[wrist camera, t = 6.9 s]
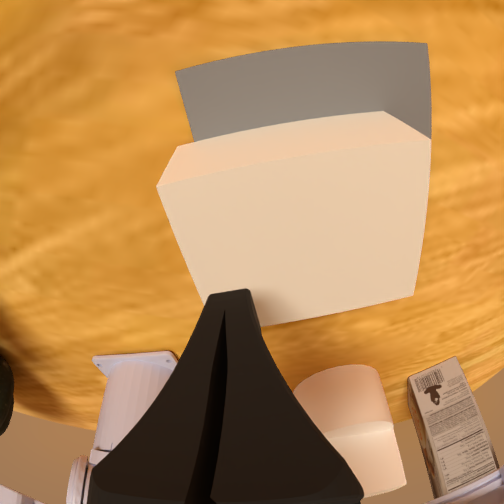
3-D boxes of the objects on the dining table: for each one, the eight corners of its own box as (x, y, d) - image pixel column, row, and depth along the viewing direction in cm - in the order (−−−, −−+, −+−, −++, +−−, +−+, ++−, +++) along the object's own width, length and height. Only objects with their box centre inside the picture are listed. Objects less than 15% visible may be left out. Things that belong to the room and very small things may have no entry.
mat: (414, 272, 20) (416, 276, 20) (245, 306, 21) (245, 310, 21) (423, 43, 11) (427, 43, 11) (176, 71, 12) (175, 71, 12)
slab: (219, 273, 19) (383, 243, 18) (216, 333, 15) (413, 295, 14) (177, 146, 14) (383, 110, 13) (156, 186, 11) (431, 139, 10)
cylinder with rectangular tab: (285, 409, 32) (295, 511, 22) (303, 366, 26) (323, 498, 17) (360, 403, 32) (380, 496, 23) (392, 360, 27) (427, 473, 17)
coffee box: (449, 385, 33) (484, 488, 20) (406, 404, 35) (435, 510, 22) (456, 353, 28) (504, 480, 15) (405, 376, 29) (444, 509, 17)
